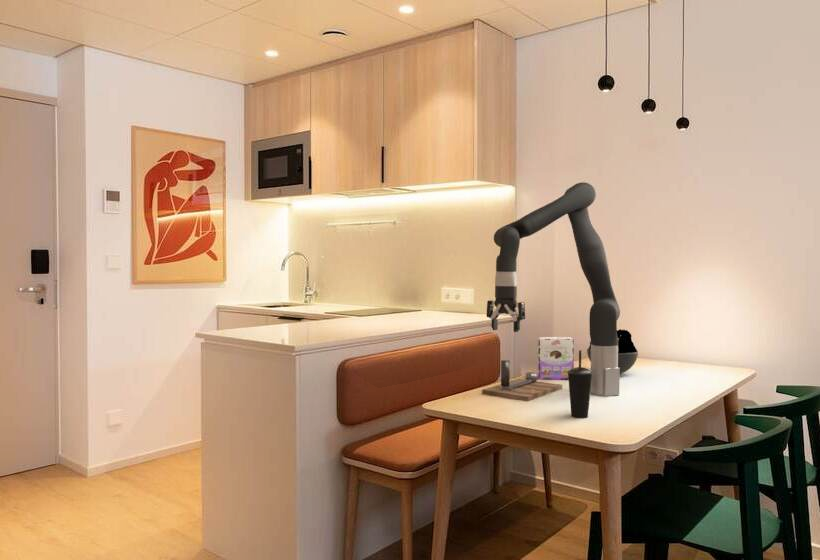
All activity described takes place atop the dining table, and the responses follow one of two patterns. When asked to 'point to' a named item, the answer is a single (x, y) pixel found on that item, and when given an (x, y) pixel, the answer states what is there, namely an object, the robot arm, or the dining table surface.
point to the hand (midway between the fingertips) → (505, 330)
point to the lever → (507, 385)
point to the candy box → (554, 357)
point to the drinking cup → (579, 390)
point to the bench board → (523, 390)
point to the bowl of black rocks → (623, 351)
